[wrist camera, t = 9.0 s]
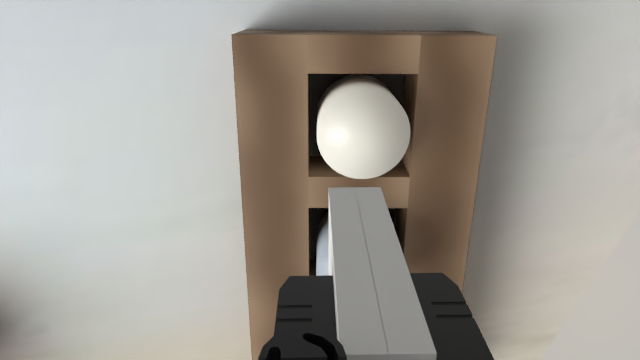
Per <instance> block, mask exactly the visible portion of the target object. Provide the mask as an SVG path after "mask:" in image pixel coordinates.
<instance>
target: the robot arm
mask: <svg viewBox="0 0 640 360" xmlns="http://www.w3.org/2000/svg"><path fill="white" fill-rule="evenodd" d="M328 269H329V275H323V276H289V277H288V279H287V280H286V281H285V283H284V284H283V285H282V286H281V288H280V289H279V295H278V303H277V312H276V322H275V329H274V336H273V337H272V338H271V339H270V340H269V341H268V342H267V343H266V344H265V345H264V346H263V348H262V350H261V352H260V355H259V357H258V360H494V359H493V357H492V354H491V352H490V350H489V348H488V346H487V344H486V342H485V340H484V338H483V336H482V334H481V332H480V330H479V328H478V326H477V324H476V322H475V320H474V318H472V313H471V311H470V309H469V307H468V305H466V301H465V299H464V297H463V295H462V293H461V291H460V289H459V287H458V285H456V284H455V283H454V282H453V281H452V280H451V279H449V278H448V277H447V276H446V275H445V274H444V273H409V270H408V267H407V264H406V261H405V258H404V255H403V252H402V249H401V246H400V243H399V240H398V237H397V234H396V231H395V228H394V225H393V222H392V219H391V216H390V213H389V210H388V207H387V205H386V202H385V199H384V196H383V193H382V190H381V187H343V188H329V241H328Z"/></svg>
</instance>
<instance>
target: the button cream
mask: <svg viewBox="0 0 640 360" xmlns="http://www.w3.org/2000/svg"><path fill="white" fill-rule="evenodd" d="M409 141H410V123H409V120H408V117H407V114H406V112H405V111H404V109H403V107H402V106H401V105H400V103H399V102H398V101H397V99H396V98H395V97H394V96H393V94H392V93H391V92H390V90H389V89H388V88H387V87H386V86H385V85H384V84H383V83H382V82H381V81H379V80H378V79H376V78H374V77H371V76H368V75H364V74H352V75H347V76H344V77H342V78H340V79H338V80H336V81H335V82H333V83H332V84H331V85H330V86H329V87H328V88H327V89H326V90H325V92H324V93H323V95H322V97H321V99H320V101H319V104H318V110H317V144H318V148H319V151H320V153H321V155H322V157H323V159H324V160H325V162H326V163H327V164H328V165H329V166H330V167H331V168H332V169H333V170H335V171H336V172H338V173H339V174H342V175H344V176H346V177H350V178H354V179H369V178H374V177H378V176H380V175H383V174H385V173H386V172H388V171H390V170H391V169H392V168H394V167H395V166H396V165H397V164H398V163H399V162H400V160H401V159H402V158H403V156H404V154H405V153H406V150H407V148H408V145H409Z"/></svg>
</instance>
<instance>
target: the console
mask: <svg viewBox="0 0 640 360" xmlns="http://www.w3.org/2000/svg"><path fill="white" fill-rule="evenodd" d="M496 41H497V36H496V35H490V34H485V33H480V32H475V31H283V30H243V31H240V32H238V33H235V34H232V50H233V66H234V81H235V97H236V113H237V129H238V145H239V161H240V177H241V193H242V209H243V225H244V241H245V257H246V273H247V288H248V304H249V320H250V336H251V352H252V360H258V357H259V355H260V352H261V350H262V348H263V346H264V345H265V344H266V343H267V342H268V341H269V340H270V339H271V338H272V337H273V336H274V329H275V322H276V312H277V303H278V295H279V289H280V288H281V286H282V285H283V284H284V283H285V281H286V280H287V279H288V277H289V276H316V259H310V208H329V188H343V187H381V190H382V193H383V196H384V199H385V202H386V205H387V207H388V208H396V210H395V224H394V228H395V231H396V234H397V237H398V240H399V243H400V246H401V249H402V252H403V255H404V258H405V261H406V264H407V267H408V270H409V273H444V274H445V275H446V276H447V277H448V278H449V279H451V280H452V281H453V282H454V283H455V284H456V285H458V287H459V289H460V291H461V293H462V289H463V282H464V275H465V267H466V260H467V253H468V246H469V238H470V231H471V224H472V216H473V209H474V202H475V194H476V187H477V180H478V172H479V165H480V158H481V151H482V143H483V136H484V129H485V121H486V114H487V107H488V99H489V92H490V85H491V77H492V70H493V63H494V56H495V48H496ZM309 74H405V80H404V94H403V109H404V111H405V112H406V114H407V117H408V120H409V123H410V141H409V145H408V148H407V150H406V153H405V154H404V156H403V158H402V159H401V160H400V162H399V163H398V164H397V165H396V166H395V167H394V168H392V169H391V170H390V171H388V172H386V173H385V174H383V175H380V176H378V177H374V178H369V179H354V178H350V177H346V176H344V175H342V174H339V173H338V172H336V171H335V170H333V169H332V168H331V167H330V166H329V165H328V164H327V163H326V162H325V160H324V159H323V157H322V156H310V87H309Z"/></svg>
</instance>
